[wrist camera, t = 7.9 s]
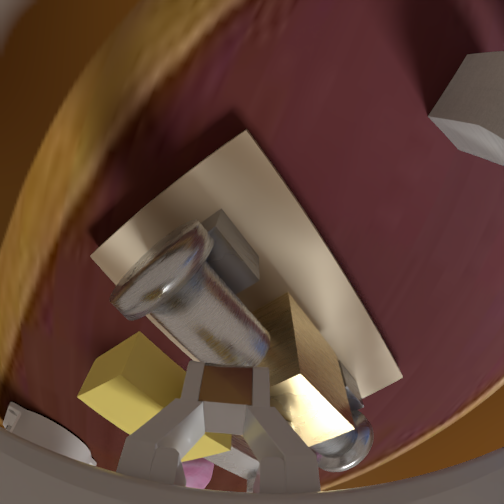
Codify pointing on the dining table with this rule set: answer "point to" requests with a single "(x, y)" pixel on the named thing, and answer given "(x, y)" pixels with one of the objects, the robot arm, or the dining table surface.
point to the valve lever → (155, 401)
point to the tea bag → (475, 107)
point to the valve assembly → (255, 295)
